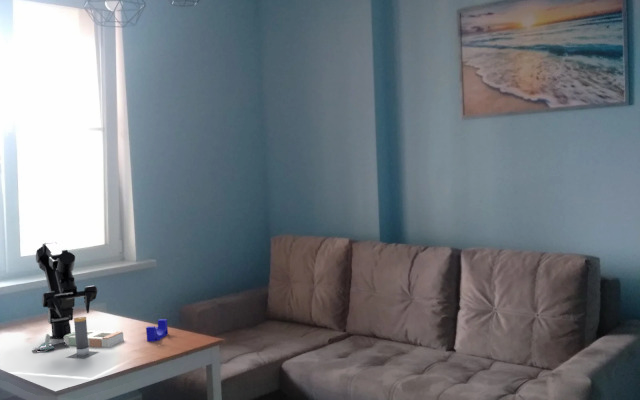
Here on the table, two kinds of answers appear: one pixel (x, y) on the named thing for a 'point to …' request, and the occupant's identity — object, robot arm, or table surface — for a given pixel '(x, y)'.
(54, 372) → the table surface
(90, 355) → the mat
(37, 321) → the table surface
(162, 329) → the cable clip
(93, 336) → the socket panel
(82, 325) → the plug
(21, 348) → the table surface
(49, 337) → the pacifier
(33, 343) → the table surface
